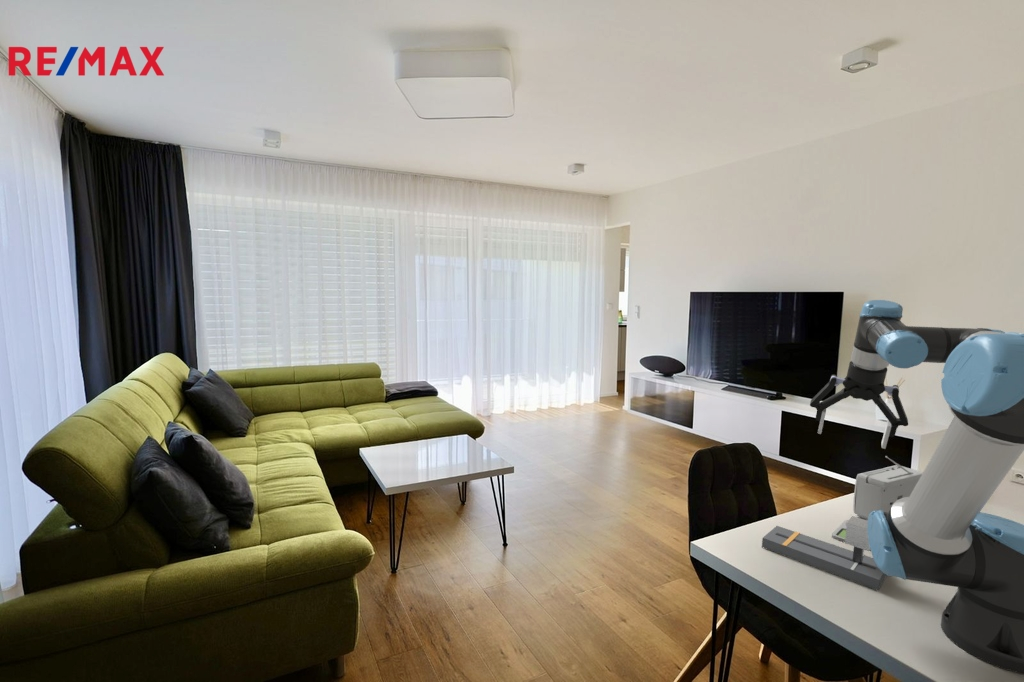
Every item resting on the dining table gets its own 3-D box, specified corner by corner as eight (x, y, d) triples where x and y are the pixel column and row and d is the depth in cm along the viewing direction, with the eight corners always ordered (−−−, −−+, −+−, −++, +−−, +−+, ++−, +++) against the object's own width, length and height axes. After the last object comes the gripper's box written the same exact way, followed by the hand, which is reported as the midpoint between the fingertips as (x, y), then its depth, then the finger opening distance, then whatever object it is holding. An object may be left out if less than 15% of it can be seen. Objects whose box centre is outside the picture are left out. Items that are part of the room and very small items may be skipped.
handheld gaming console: (890, 530, 132) (877, 548, 122) (890, 536, 132) (876, 554, 122) (847, 517, 139) (831, 533, 129) (846, 522, 140) (830, 539, 130)
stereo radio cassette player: (891, 504, 152) (897, 441, 150) (922, 515, 145) (929, 449, 143) (850, 515, 143) (856, 449, 141) (881, 528, 136) (888, 458, 134)
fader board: (887, 573, 113) (888, 562, 113) (878, 590, 106) (879, 579, 106) (776, 534, 130) (776, 525, 130) (761, 547, 123) (762, 537, 123)
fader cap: (871, 561, 113) (875, 522, 112) (866, 568, 109) (870, 529, 109) (848, 553, 116) (852, 516, 115) (843, 560, 113) (846, 522, 112)
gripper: (934, 367, 113) (911, 444, 122) (810, 349, 127) (797, 419, 135) (937, 381, 108) (913, 460, 116) (807, 360, 121) (793, 432, 129)
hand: (850, 438), depth 126 cm, fingers open, 13 cm apart
